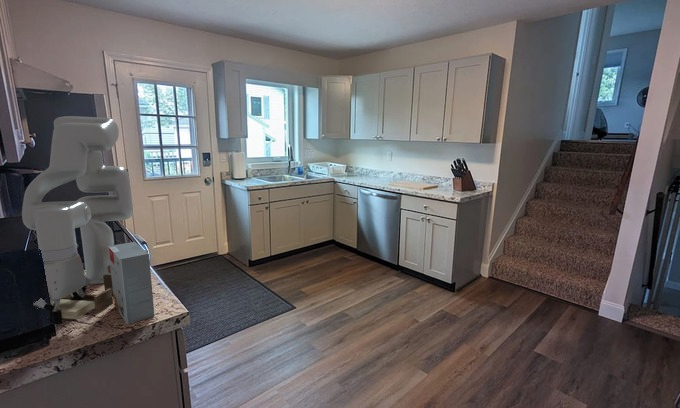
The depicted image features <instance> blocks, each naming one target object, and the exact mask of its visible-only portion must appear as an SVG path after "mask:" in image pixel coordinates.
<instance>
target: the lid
mask: <svg viewBox="0 0 680 408" xmlns="http://www.w3.org/2000/svg"><path fill="white" fill-rule="evenodd" d="M53 304H54V301H52V305H53ZM94 308H95V302H94V301H82V300H81V301H80V300H64V299H60V304H59V308H58V310H61V316H62V318H69V319H75V320H76V319H79V318H80V317H83V316H84V315H86V314H87V313H90V312H89V311H91V310H93V309H94Z"/></svg>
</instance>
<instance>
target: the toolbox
mask: <svg viewBox="0 0 680 408" xmlns="http://www.w3.org/2000/svg"><path fill="white" fill-rule="evenodd" d="M103 279H104V283H103V285H104V290H103V291H102V292H100V293H98V294H87V290H86V291H85V293H84V294H85V296H84V297H83V301H94V302H95V308H94V309H93V310H91V311H89V312H88V313H100V312H101V311H103V310H104V309H106V308H107V307H109V306H111V305H113V304H114V298H113V297H114V295H113V287H112V277H111V275H107V274H106V275H104V276H103ZM71 298H73V297H72V295H71V294H70V295H67V296H65V297H63V298H61V299H64V300H71ZM74 320H76V319H69V318H62V321H66V322H73V321H74Z"/></svg>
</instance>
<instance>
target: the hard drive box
mask: <svg viewBox="0 0 680 408" xmlns="http://www.w3.org/2000/svg"><path fill="white" fill-rule="evenodd" d="M145 250H146V249H143V248H142V246H140V245H139V244H138V243H136V242H135V241H131V242H126V243H119V244H114V245H113V246H108V252H109V260H110V268H111V277H112V287H113V295H114V296H113V304H114V307H115V309H116V310H117V311H118V312H119V313H118V314H120V316H121V318H122V320H123V321H124V322H125V324H126V325H130V324H133V322H134V323H136V322H140V321H143V320H147V319H149V318H152V317H154V316H155V307H154V305H155V304H154V296H153V293H154V292H153V284H152V273H151V262H150V254H149V252H148V253H147V252H146V251H145Z"/></svg>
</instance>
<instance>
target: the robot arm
mask: <svg viewBox="0 0 680 408" xmlns="http://www.w3.org/2000/svg"><path fill="white" fill-rule="evenodd" d="M118 126H119V125H118V124H117V122H116V121H115V120H114V119H113V118H110V117H97V116H96V117H94V116H79V115H76V116H74V115H68V116H66V115H65V116H58V117H56V118H55V119H54V120H53V131H52V139H51V147H50V159H49V166H48V167H47V168H46V169H44V170H43V171H42V172H41V173H40V174H38V175H37V176H36V177H35V178H34V179H33V180H32V181H31V182H30V183H29V184H28V186H27V187H26V189H25V191H24V195H23V200H22V201H23V202H22V209H21V217H22V218H21V219H22V223H23V225H24V226H25V227H26V228H27V229H29V230H33V231H36V232H35V233H36V239H37V245H38V250H39V249H40V250H41V253H42V258H43V262H44V269H45V275H46V281H47V286H48V292H49V296H50V302H51V304H52V301H54V304H53V305H50V304H47V303H46V301H45V300H46V299H45V300H43V299H42V298H40V299H39V300H38V301H36V302H35V301H34V302H35V303H34V302H33V306H34V307H37V308H42V309H45V310H48V311H50V318H48V321H49V320H50V323H53V326H61V325H62V324H63V320H62V316H61V310H58V308H59V304H60V299H61V298H63V297H65V296H67V295H70V294H71V295H72V297H73V298H71V300H80V301H81V300H82V301H83V297H84V296H85V294H84V293H85V291H86V292H87V288H88V285H101V284H104V279H103V276H104V275H106V274H107V275H111V273H108V266H109V265H110V260H109V252H108V246H113V245H115V239H114V232H113V229H112V228H111V227H110V226H109V225H108V224H107V223H106V222H112V221H114V222H115V221H125V220H129V219H131V217H132V216H133V214H134V212H133V211H134V208H133V205H134V204H133V197H132V187H131V179H130V174H129V172H128V170H127V168H125V167H124V166H120V165H105V163H104V157H103V156H104V155H103V152H106V151H110V150H111V149H112V148H114V146H115V145H116V142H117V141H118V139H119V134H120V132H119V131H120V130H119V127H118ZM72 181H76V186H77V188H78V189H79V191H81V192H83V193H114V194H111V195H110V194H109V195H106V194H103V195H88V196H83V197H80V198H78V199H77V200H69V201H65V200H63V201H62V200H60V201H42V200H43V199H44V197H45V196H46V194H47V193H49V192H50V191H51V190H54V189H55V188H57V187H59V186H63V185H65V184H67V183H70V182H72ZM78 228H79V229H80V237H81V242H82V252H83V259H84V261H82V258H81V256H80V254H79V253H78V248H79V244H78V243H77V238H76V237H77V235H76V229H78ZM83 262H84V266H83ZM84 268H85V269H84Z"/></svg>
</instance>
